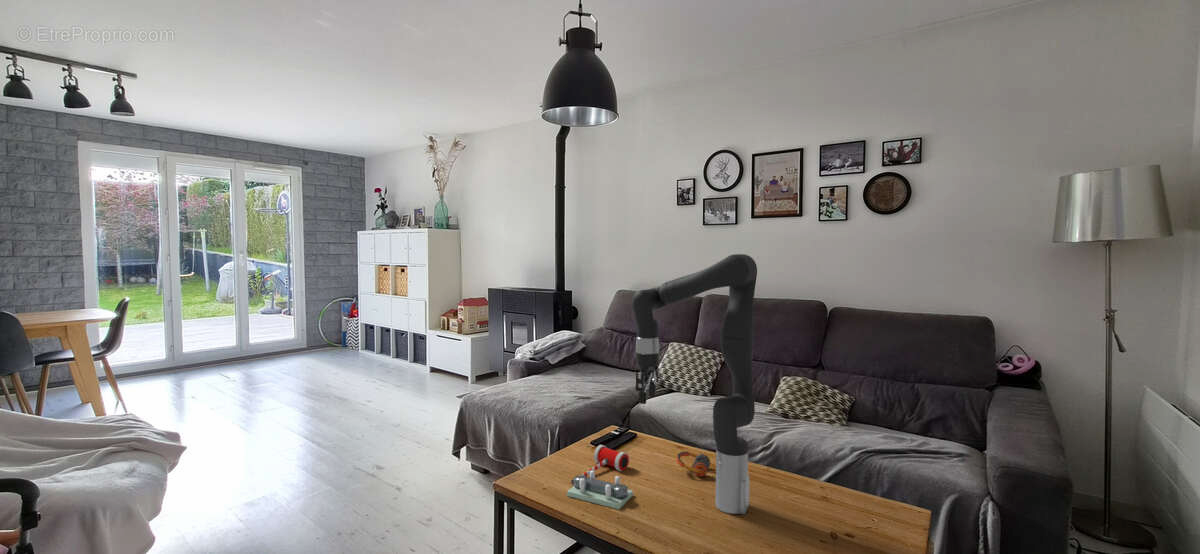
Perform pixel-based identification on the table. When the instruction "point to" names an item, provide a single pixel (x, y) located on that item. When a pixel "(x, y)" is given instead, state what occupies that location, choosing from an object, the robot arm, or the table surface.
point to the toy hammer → (608, 459)
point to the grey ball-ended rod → (602, 487)
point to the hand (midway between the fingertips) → (647, 400)
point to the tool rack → (599, 494)
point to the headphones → (696, 463)
